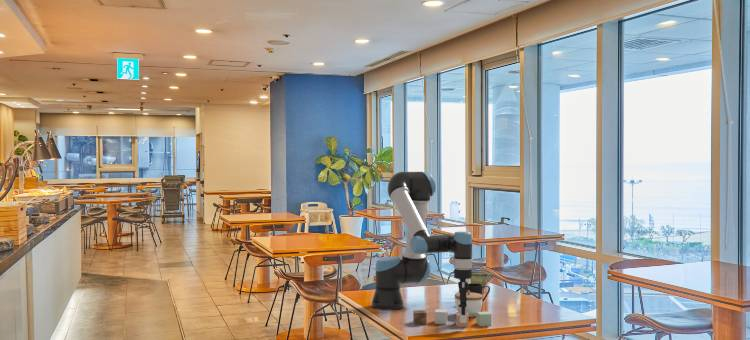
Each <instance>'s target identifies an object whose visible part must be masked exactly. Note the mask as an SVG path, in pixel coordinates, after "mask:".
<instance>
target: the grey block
mask: <svg viewBox="0 0 750 340" xmlns="http://www.w3.org/2000/svg"><path fill="white" fill-rule="evenodd" d="M448 313H449V312H448V309H439V308H438V309H437V308H436V309H435V310H434V324H441V325H447V324H448V315H449V314H448Z"/></svg>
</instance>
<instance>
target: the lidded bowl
mask: <svg viewBox="0 0 750 340" xmlns="http://www.w3.org/2000/svg"><path fill="white" fill-rule="evenodd" d="M466 298H467V300H466V304H467V306H466V307H467V313H468V314H469V318H470V317H472V318H473V317H476V312H481V310H482V307H483V303H482V299H483V298H484V296H483V294H482V295H481V294H478V293H471V292H470V290H468V291H467V293H466ZM454 304H455V308H456V310H457V312H460V307H458V305H460V293H459V292H456V293H455V294H454Z"/></svg>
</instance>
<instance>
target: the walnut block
mask: <svg viewBox="0 0 750 340" xmlns="http://www.w3.org/2000/svg"><path fill="white" fill-rule="evenodd" d="M412 321H413V324H414V325H415V326H417V325H420V326H421V325H427V311H426V310H424V309H423V310H422V309H420V310H419V309H417V310H416V309H415V310H413V320H412Z"/></svg>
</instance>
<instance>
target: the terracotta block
mask: <svg viewBox="0 0 750 340" xmlns="http://www.w3.org/2000/svg"><path fill="white" fill-rule="evenodd" d="M469 318H470V317H469V314H468V313H467V323H460V312H458V311H457V312H456V318H455V319H456V321H455V325H456V327H458V328H459V327H460V328H469V321H470V319H469Z"/></svg>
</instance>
